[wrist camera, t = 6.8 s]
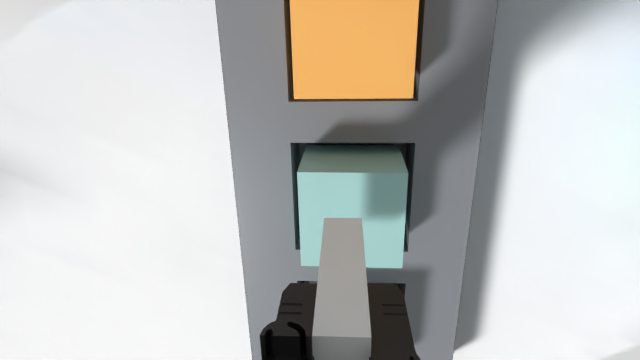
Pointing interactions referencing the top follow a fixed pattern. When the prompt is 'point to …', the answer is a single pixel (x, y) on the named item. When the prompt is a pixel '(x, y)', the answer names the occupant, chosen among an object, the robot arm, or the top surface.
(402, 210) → the button teal
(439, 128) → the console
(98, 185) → the top surface
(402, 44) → the button orange
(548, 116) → the top surface
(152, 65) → the top surface
